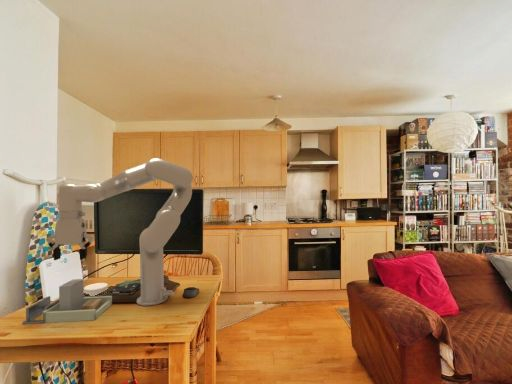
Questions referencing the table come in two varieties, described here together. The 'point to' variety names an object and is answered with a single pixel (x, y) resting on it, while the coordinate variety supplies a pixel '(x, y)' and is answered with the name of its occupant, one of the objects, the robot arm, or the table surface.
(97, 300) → the offcut upper
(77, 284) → the sheet
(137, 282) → the disk drive
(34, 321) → the stand
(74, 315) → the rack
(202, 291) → the table surface
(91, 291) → the white fluted dish
